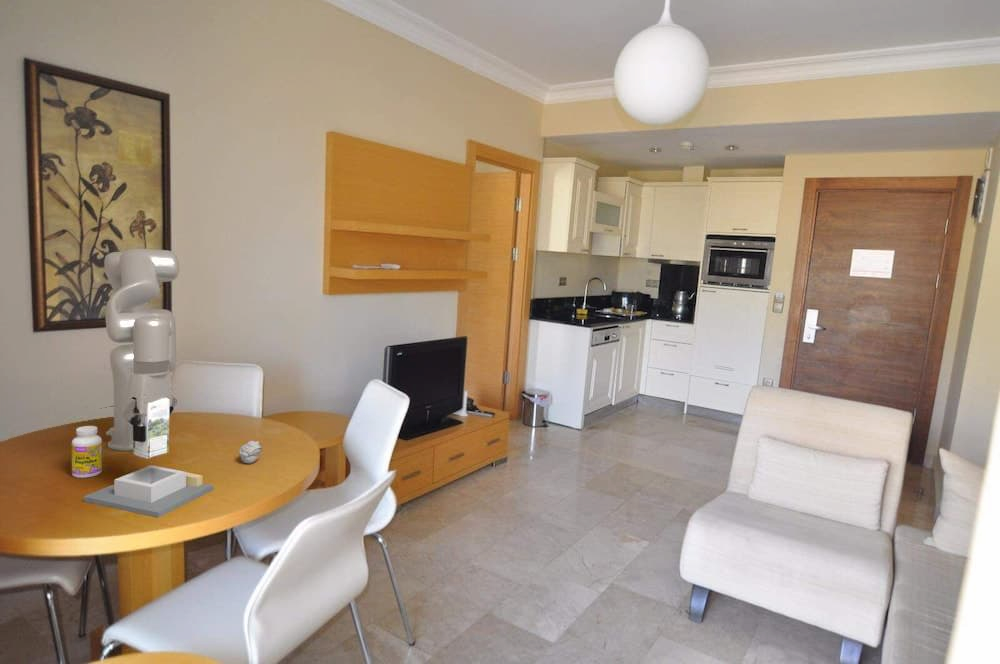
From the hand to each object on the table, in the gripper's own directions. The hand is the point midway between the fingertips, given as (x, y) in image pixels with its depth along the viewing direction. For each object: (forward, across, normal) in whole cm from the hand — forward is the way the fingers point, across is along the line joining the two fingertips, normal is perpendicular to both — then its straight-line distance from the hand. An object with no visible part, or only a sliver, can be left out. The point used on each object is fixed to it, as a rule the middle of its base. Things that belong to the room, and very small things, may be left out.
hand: (151, 436), depth 147 cm
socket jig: (+15, 0, 0) cm, 15 cm away
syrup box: (+5, 0, 0) cm, 5 cm away
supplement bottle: (+16, -4, -25) cm, 30 cm away
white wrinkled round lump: (+16, -29, +7) cm, 34 cm away
